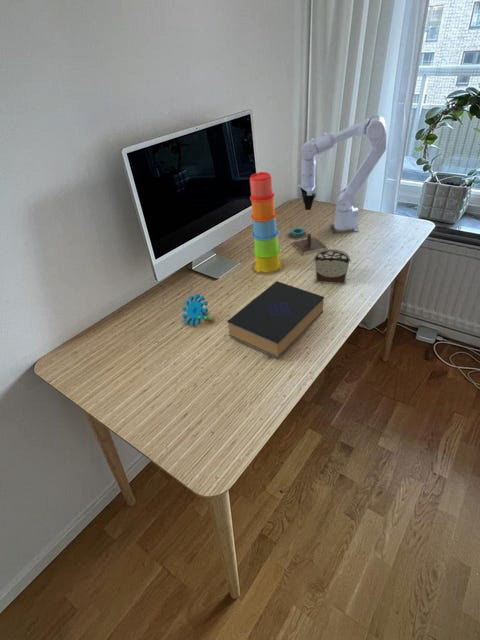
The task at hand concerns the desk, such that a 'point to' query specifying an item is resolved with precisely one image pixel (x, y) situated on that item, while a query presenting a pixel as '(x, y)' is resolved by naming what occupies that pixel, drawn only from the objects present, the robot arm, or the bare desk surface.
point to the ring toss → (309, 244)
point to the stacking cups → (264, 223)
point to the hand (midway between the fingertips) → (307, 206)
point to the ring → (293, 231)
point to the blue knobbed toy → (195, 310)
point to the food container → (331, 266)
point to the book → (276, 318)
